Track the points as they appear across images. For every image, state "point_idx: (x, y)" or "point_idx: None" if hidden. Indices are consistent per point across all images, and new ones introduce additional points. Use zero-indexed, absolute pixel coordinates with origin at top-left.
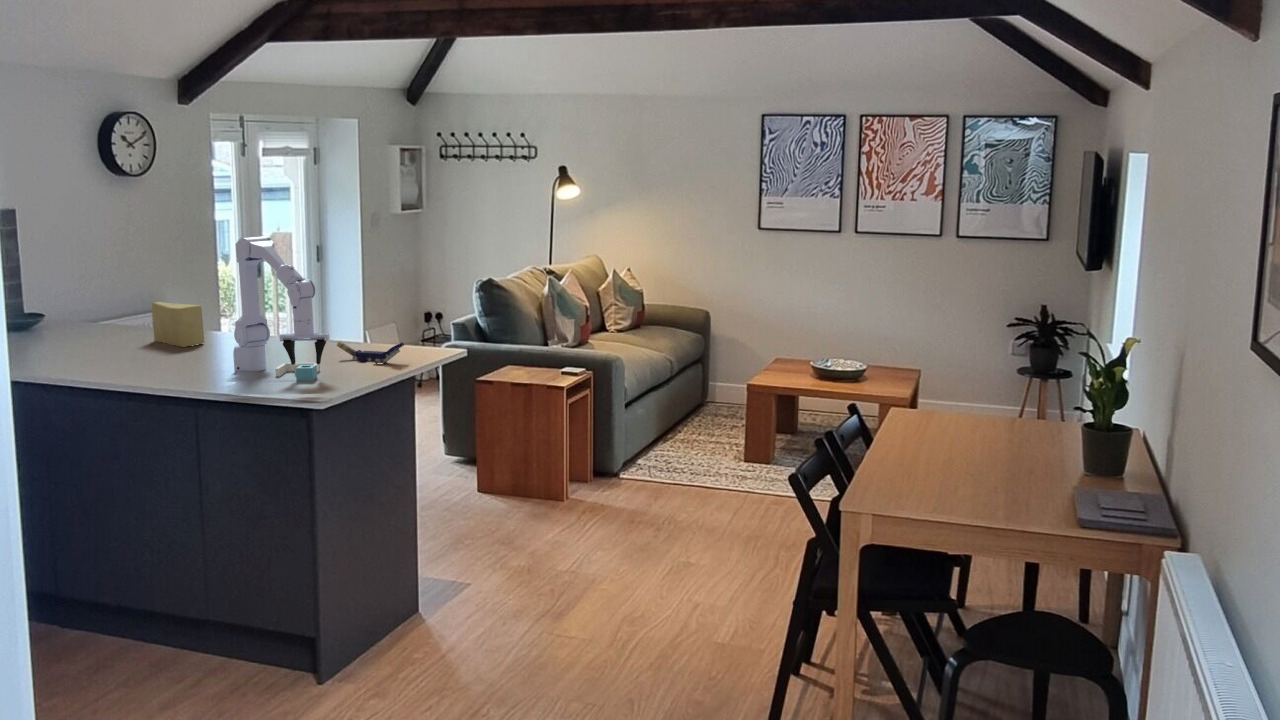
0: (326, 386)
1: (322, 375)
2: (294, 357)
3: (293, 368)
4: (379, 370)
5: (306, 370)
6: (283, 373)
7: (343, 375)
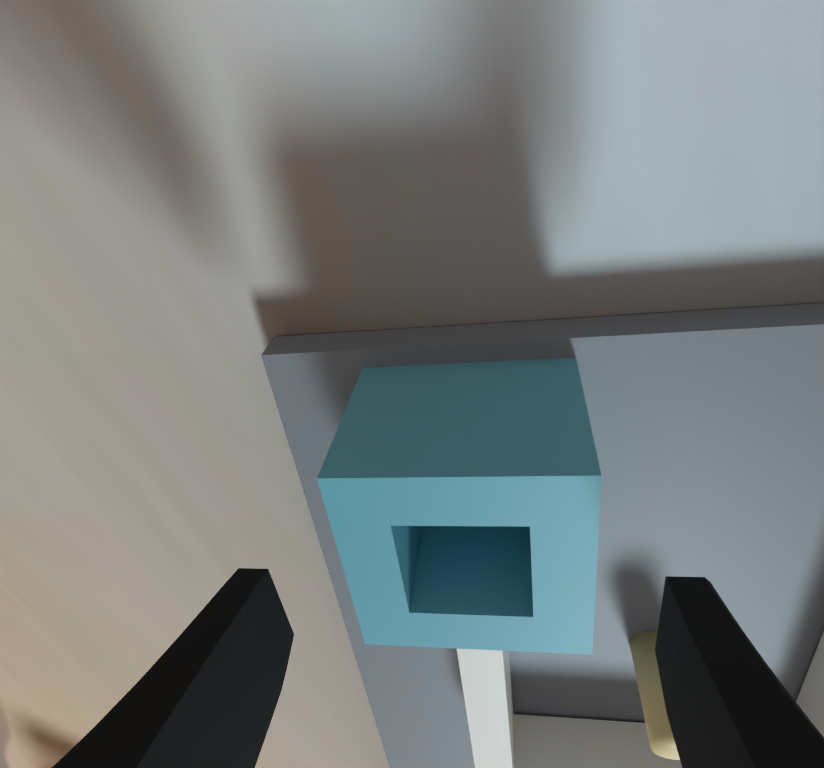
0: (154, 233)
1: None
2: (691, 755)
3: None
4: None
5: (418, 452)
6: (810, 669)
7: None
